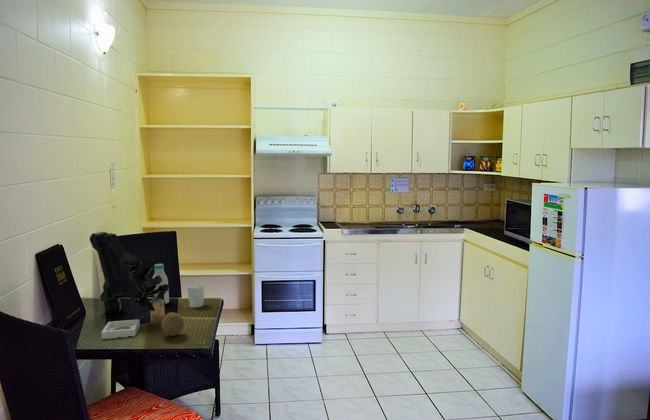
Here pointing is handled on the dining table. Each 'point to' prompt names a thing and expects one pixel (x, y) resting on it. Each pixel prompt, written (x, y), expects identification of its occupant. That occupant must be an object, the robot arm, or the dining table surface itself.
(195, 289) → the white cup
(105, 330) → the tray
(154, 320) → the spout can
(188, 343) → the dining table surface
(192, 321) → the dining table surface
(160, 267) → the milk bottle
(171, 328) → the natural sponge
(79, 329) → the dining table surface
